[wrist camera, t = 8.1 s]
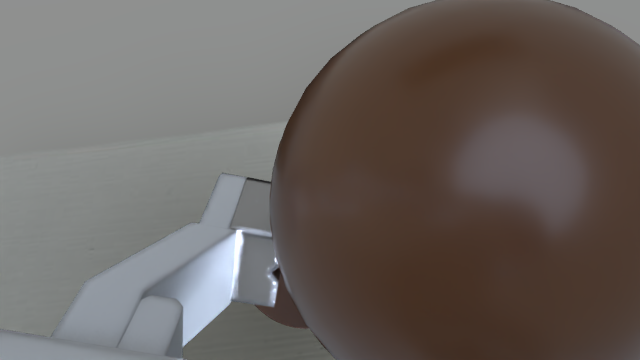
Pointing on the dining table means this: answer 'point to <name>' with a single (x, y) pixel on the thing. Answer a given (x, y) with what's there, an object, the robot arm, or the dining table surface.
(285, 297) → the wooden plunger
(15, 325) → the dining table surface
